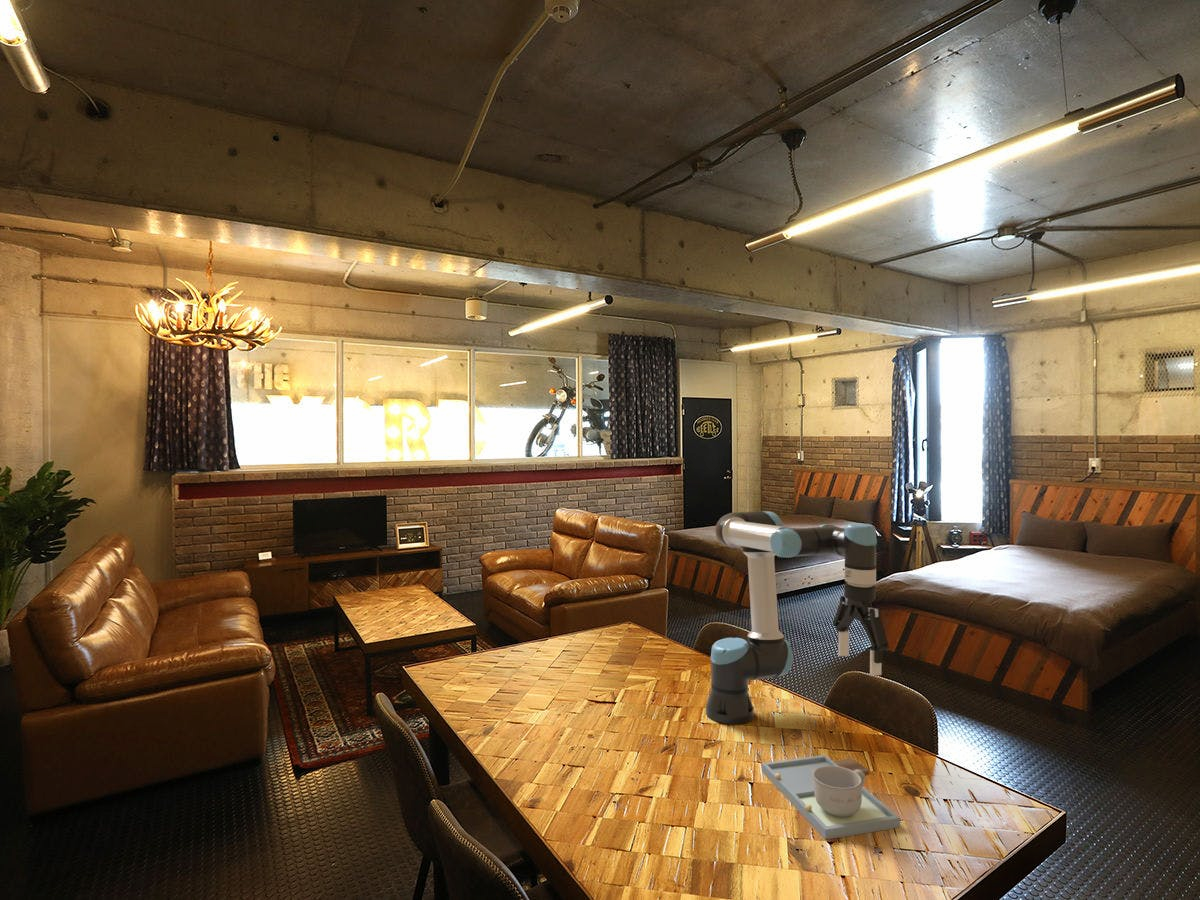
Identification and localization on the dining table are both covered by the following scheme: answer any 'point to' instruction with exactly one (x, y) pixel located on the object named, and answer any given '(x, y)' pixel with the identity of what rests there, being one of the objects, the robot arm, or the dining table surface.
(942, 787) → the dining table surface
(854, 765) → the walnut coaster
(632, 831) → the dining table surface
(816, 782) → the teacup
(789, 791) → the grey divided tray
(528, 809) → the dining table surface
